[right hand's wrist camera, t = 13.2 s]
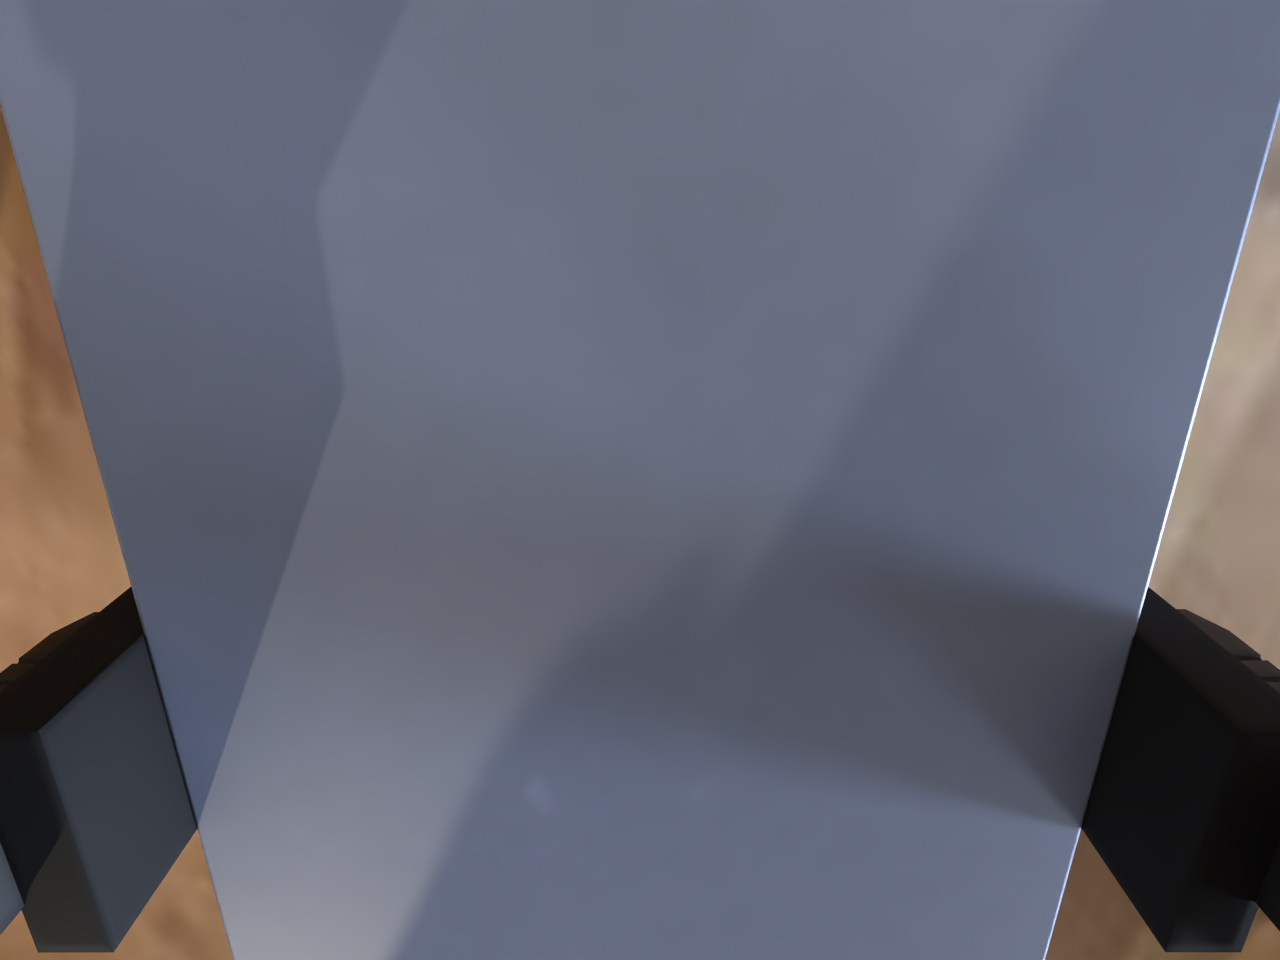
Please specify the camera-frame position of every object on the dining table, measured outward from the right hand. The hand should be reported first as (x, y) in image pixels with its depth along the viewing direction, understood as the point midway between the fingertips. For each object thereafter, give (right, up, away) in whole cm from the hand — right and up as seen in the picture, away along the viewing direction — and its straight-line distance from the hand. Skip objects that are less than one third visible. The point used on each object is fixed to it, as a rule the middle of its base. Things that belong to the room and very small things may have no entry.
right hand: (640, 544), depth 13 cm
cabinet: (0, +7, +4) cm, 8 cm away
